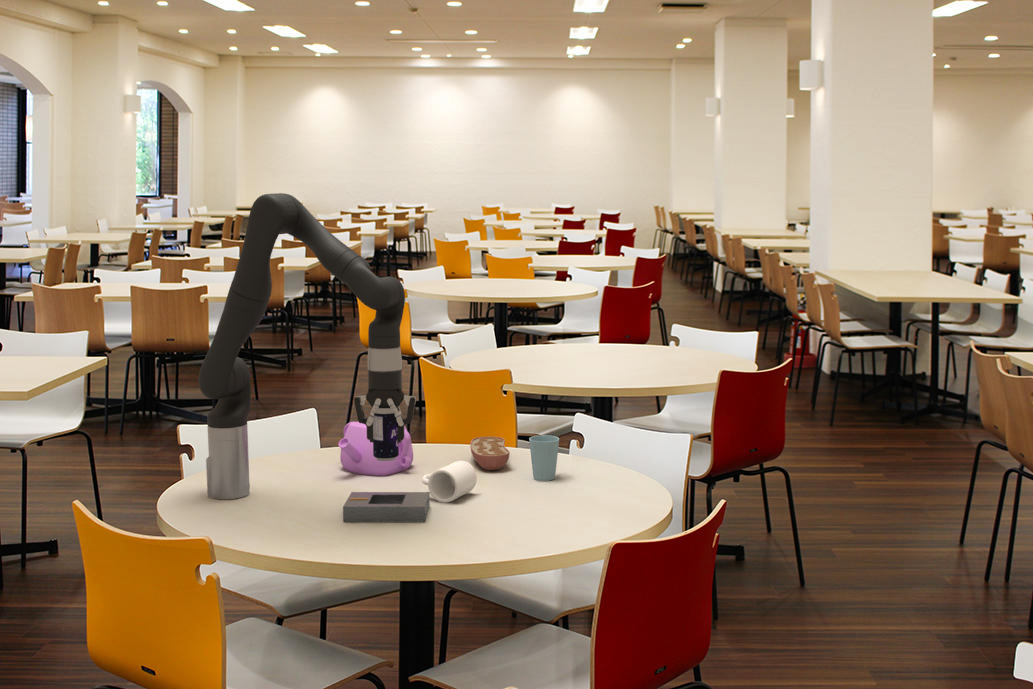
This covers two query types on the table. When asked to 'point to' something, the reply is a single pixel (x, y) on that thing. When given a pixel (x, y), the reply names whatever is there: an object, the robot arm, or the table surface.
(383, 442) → the beverage can
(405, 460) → the teapot
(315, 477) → the table surface
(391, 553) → the table surface
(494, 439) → the anatomical model
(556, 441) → the cup
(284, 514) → the table surface
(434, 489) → the mug
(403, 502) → the jig
